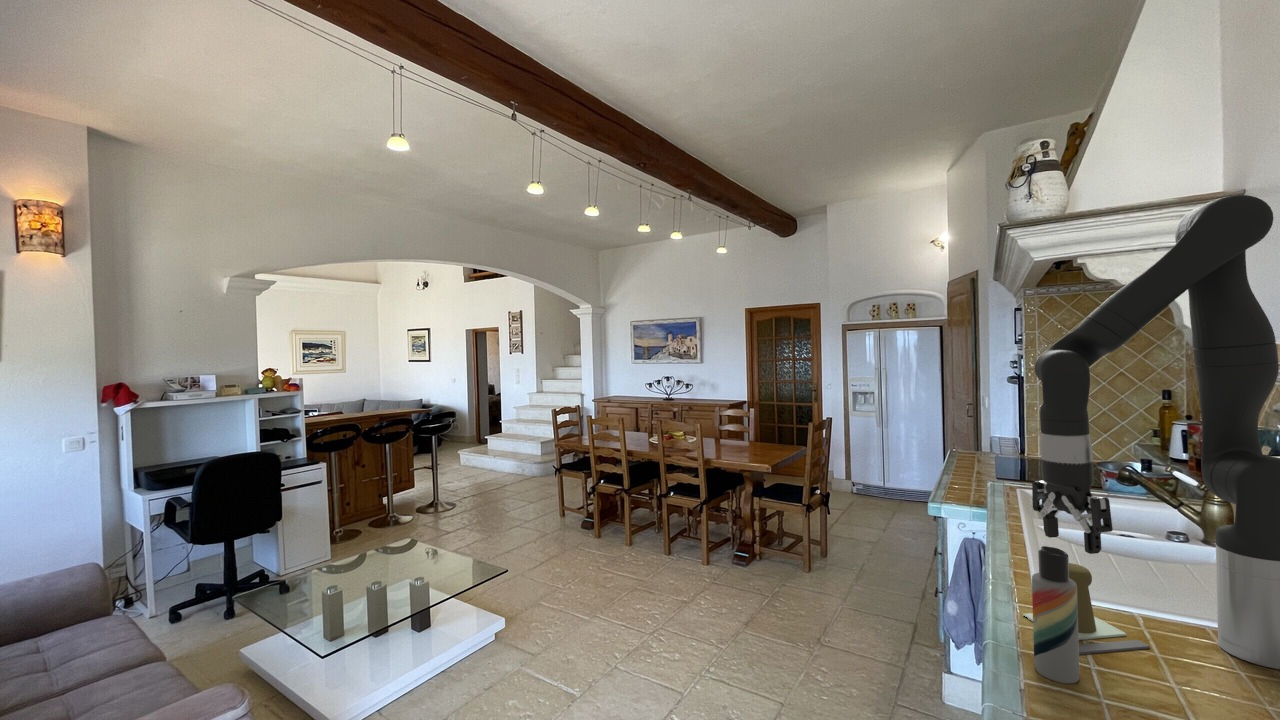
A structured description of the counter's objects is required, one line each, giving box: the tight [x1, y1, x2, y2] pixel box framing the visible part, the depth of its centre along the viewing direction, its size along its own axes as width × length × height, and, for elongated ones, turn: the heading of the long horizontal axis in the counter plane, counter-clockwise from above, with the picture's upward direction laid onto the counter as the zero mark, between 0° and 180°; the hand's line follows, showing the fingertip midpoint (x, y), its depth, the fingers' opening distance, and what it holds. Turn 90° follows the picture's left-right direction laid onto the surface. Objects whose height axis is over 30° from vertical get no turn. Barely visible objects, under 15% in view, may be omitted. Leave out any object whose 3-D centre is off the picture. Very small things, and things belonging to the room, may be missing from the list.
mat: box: [1022, 612, 1127, 641], centre depth 98 cm, size 12×9×1 cm
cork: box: [1069, 562, 1096, 633], centre depth 97 cm, size 6×6×11 cm
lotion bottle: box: [1031, 545, 1080, 685], centre depth 84 cm, size 6×6×20 cm
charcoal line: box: [1079, 639, 1151, 656], centre depth 90 cm, size 16×2×1 cm, turn 94°
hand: (1071, 544), depth 98 cm, fingers open, 8 cm apart
